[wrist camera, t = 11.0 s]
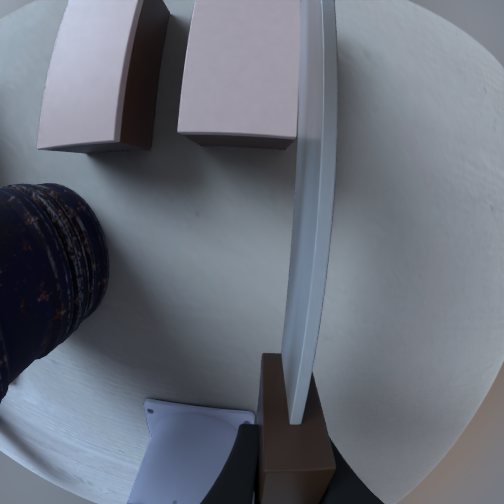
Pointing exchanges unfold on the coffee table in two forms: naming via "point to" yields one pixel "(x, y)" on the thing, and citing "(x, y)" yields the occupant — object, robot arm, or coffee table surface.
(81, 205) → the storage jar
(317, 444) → the knife
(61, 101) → the block
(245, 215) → the coffee table surface
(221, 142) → the cake slice
